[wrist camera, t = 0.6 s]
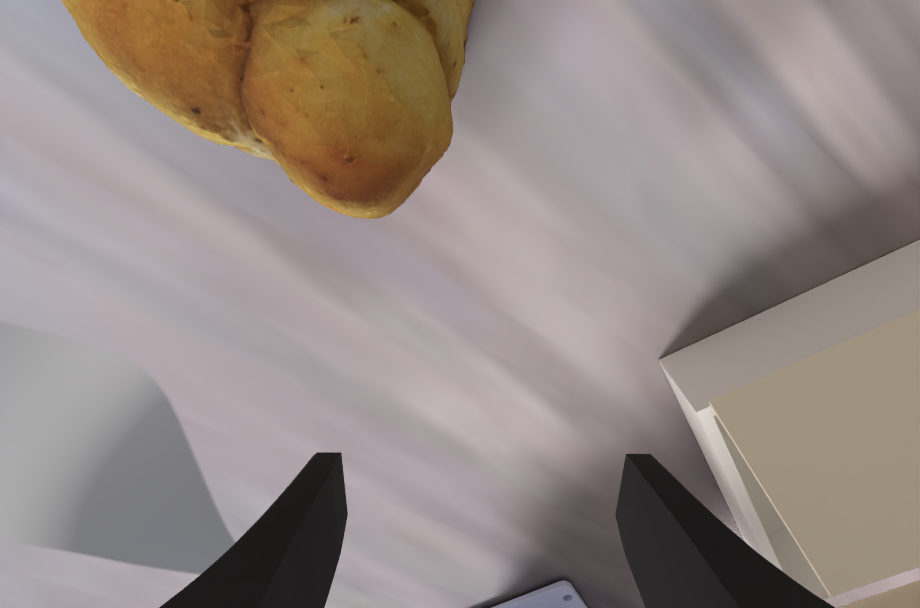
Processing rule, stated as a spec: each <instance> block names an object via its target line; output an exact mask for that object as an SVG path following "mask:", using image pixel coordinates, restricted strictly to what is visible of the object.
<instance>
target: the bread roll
mask: <svg viewBox="0 0 920 608" xmlns="http://www.w3.org/2000/svg"><path fill="white" fill-rule="evenodd" d="M61 1H62V2H63V4H64V5H65V7H66V8H67V10H68V11H69V13H70V14H71V15H72V17H73V18H74V20H75V21H76V23H77V25H78V27H79V29H80V31H81V33H82V35H83V37H84V38H85V39H86V41H87V42H88V43H89V44H90V46H91V47H92V48H93V50H94V51H95V52H96V53H97V55H98V56H99V57H100V58H101V60H102V61H103V62H104V63H105V64H106V66H107V67H108V68H109V69H110V70H111V71H112V72H113V73H114V74H115V75H116V76H117V77H118V78H119V79H120V80H121V81H122V82H123V83H124V84H125V85H126V86H127V87H128V88H129V89H130V90H131V91H133V92H134V93H136V94H137V95H139V96H140V97H142V98H143V99H145V100H146V101H148V102H149V103H150V104H152V105H153V106H155V107H156V108H157V109H159V110H160V111H162V112H163V113H164V114H166V115H167V116H169V117H170V118H172V119H173V120H175V121H176V122H178V123H179V124H181V125H182V126H184V127H185V128H187V129H188V130H190V131H192V132H193V133H195V134H197V135H198V136H201V137H203V138H205V139H208V140H210V141H212V142H215V143H218V144H222V145H229V146H234V147H236V148H238V149H239V150H241V151H244V152H246V153H249V154H251V155H254V156H256V157H261V158H266V159H271V160H274V161H276V162H277V163H278V164H279V165H280V166H281V167H282V168H283V169H284V171H285V172H286V174H287V175H288V177H289V178H290V180H291V181H292V182H293V183H294V184H296V185H297V186H298V187H300V188H301V189H302V190H303V191H304V192H306V193H307V194H308V195H309V196H310V197H312V198H313V199H314V200H315V201H317V202H319V203H320V204H322V205H324V206H326V207H328V208H330V209H332V210H334V211H336V212H339V213H341V214H344V215H348V216H351V217H355V218H367V219H371V218H380V217H383V216H386V215H389V214H391V213H392V212H393V211H394V210H396V209H397V208H398V207H399V206H400V205H401V204H403V203H404V202H405V200H406V199H407V198H408V197H409V196H410V195H411V194H412V193H413V192H414V190H415V189H416V188H417V187H418V186H419V185H420V183H421V181H422V179H423V177H424V176H425V175H426V174H427V173H428V172H429V171H430V169H431V168H432V167H433V166H434V165H435V164H436V162H437V161H438V160H439V159H440V158H441V157H442V156H443V154H444V152H445V151H447V149H448V147H449V146H450V142H451V138H452V133H453V123H452V115H451V101H452V99H453V98H454V96H455V93H456V91H457V88H458V85H459V81H460V77H461V73H462V68H463V65H464V64H465V45H466V42H467V38H468V37H467V34H466V28H467V24H468V20H469V16H470V12H471V8H472V7H473V5H474V1H473V0H61Z"/></svg>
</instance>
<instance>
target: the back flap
mask: <svg viewBox="0 0 920 608" xmlns="http://www.w3.org/2000/svg"><path fill="white" fill-rule="evenodd" d="M839 608H920V580H919V581H916V582H913V583H910V584H907V585H904V586H901V587H898V588H895V589H892V590H889V591H886V592H883V593H880V594H877V595H874V596H871V597H868V598H865V599H862V600H859V601H856V602H853V603H850V604H848V605H845V606H842V607H839Z"/></svg>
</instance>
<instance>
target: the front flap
mask: <svg viewBox="0 0 920 608" xmlns="http://www.w3.org/2000/svg"><path fill="white" fill-rule="evenodd" d="M709 404H710V406H711V408H712V409H713V411H714V412H715V414H716V416H717V417H718V419H719V420H720V422H721V424H722V425H723V427H724V428H725V430H726V432H727V433H728V435H729V436H730V438H731V440H732V441H733V443H734V444H735V446H736V448H737V449H738V451H739V452H740V454H741V456H742V457H743V459H744V460H745V462H746V464H747V465H748V467H749V468H750V470H751V472H752V473H753V475H754V476H755V478H756V480H757V481H758V483H759V484H760V486H761V488H762V489H763V491H764V492H765V494H766V496H767V497H768V499H769V500H770V502H771V504H772V505H773V507H774V508H775V510H776V512H777V513H778V515H779V516H780V518H781V520H782V521H783V523H784V524H785V526H786V528H787V529H788V531H789V532H790V534H791V536H792V537H793V539H794V540H795V542H796V543H797V545H798V547H799V548H800V550H801V551H802V553H803V555H804V556H805V558H806V559H807V561H808V563H809V564H810V566H811V567H812V569H813V571H814V572H815V574H816V575H817V577H818V579H819V580H820V582H821V583H822V585H823V587H824V588H825V590H826V591H827V593H828V595H829V596H831V597H832V596H835V595H838V594H841V593H844V592H847V591H850V590H853V589H856V588H859V587H862V586H865V585H868V584H871V583H873V582H876V581H879V580H882V579H885V578H888V577H891V576H894V575H897V574H900V573H903V572H906V571H909V570H912V569H915V568H918V567H920V309H919V310H917V311H915V312H912V313H910V314H908V315H905V316H903V317H901V318H899V319H896V320H894V321H892V322H889V323H887V324H885V325H882V326H880V327H878V328H876V329H873V330H871V331H869V332H866V333H864V334H862V335H859V336H857V337H855V338H853V339H850V340H848V341H846V342H843V343H841V344H839V345H836V346H834V347H832V348H830V349H827V350H825V351H823V352H820V353H818V354H816V355H813V356H811V357H809V358H807V359H804V360H802V361H800V362H797V363H795V364H793V365H790V366H788V367H786V368H784V369H781V370H779V371H777V372H774V373H772V374H770V375H767V376H765V377H763V378H761V379H758V380H756V381H754V382H751V383H749V384H747V385H744V386H742V387H740V388H738V389H735V390H733V391H731V392H728V393H726V394H724V395H722V396H719V397H717V398H715V399H712V400H710V401H709Z"/></svg>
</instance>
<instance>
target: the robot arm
mask: <svg viewBox="0 0 920 608" xmlns="http://www.w3.org/2000/svg"><path fill="white" fill-rule="evenodd" d="M347 515H348V513H347V504H346V494H345V485H344V475H343V465H342V456H341V453H316V454H315V455H314V456H313V457H312V458H311V459H310V461H309V462H308V463H307V464H306V465H305V467H304V468H303V469H302V470H301V472H300V473H299V474H298V475H297V476H296V478H295V479H294V480H293V481H292V482H291V484H290V485H289V486H288V487H287V488H286V489H285V491H284V492H283V493H282V494H281V495H280V496H279V497H278V499H277V500H276V501H275V502H274V503H273V504H272V505H271V506H270V508H269V509H268V510H267V511H266V512H265V513H264V514H263V515H262V516H261V517H260V519H259V520H258V521H257V522H256V523H255V524H254V525H253V526H252V527H251V528H250V529H249V530H248V531H247V532H246V533H245V534H244V535H243V536H242V537H241V538H240V539H239V540H238V541H237V542H236V543H235V544H234V545H233V546H232V547H231V548H230V549H229V550H228V551H227V552H225V554H223V555H222V556H221V557H220V558H219V559H218V560H217V561H216V562H215V563H214V564H212V565H211V566H210V567H209V568H208V569H207V570H206V571H204V572H203V573H202V574H201V575H200V576H199V577H197V578H196V579H195V580H194V581H193V582H191V583H190V584H189V585H188V586H186V587H185V588H184V589H183V590H182V591H180V592H179V593H178V594H176V595H175V596H174V597H172V598H171V599H170V600H169V601H167V602H166V603H165V604H163V605H162V606H161V607H160V608H324V607H325V604H326V601H327V597H328V594H329V591H330V587H331V584H332V581H333V577H334V574H335V571H336V567H337V564H338V560H339V557H340V553H341V548H342V543H343V538H344V532H345V526H346V520H347ZM616 519H617V523H618V527H619V532H620V536H621V540H622V543H623V547H624V551H625V555H626V557H627V560H628V563H629V566H630V568H631V571H632V573H633V576H634V579H635V581H636V584H637V587H638V589H639V592H640V594H641V597H642V599H643V602H644V605H645V607H646V608H835V607H833V606H832V605H830V604H829V603H827V602H826V601H824V600H822V599H821V598H819V597H818V596H816V595H815V594H813V593H812V592H810V591H809V590H808V589H806V588H805V587H803V586H802V585H800V584H799V583H798V582H796V581H795V580H793V579H792V578H791V577H789V576H788V575H787V574H785V573H784V572H783V571H781V570H780V569H779V568H777V567H776V566H775V565H773V564H772V563H770V562H769V561H768V560H767V559H765V558H764V557H763V556H761V555H760V554H759V553H758V552H756V551H755V550H754V549H753V548H751V547H750V546H749V545H748V544H747V543H746V542H744V541H743V540H742V539H741V538H740V537H738V536H737V535H736V534H735V533H734V532H732V531H731V530H730V529H729V528H728V527H727V526H725V525H724V524H723V523H722V522H721V521H720V520H719V519H718V518H716V517H715V516H714V515H713V514H712V513H711V512H710V511H709V510H708V509H707V508H706V507H704V506H703V505H702V504H701V503H700V502H699V501H698V500H697V499H696V498H695V497H694V496H693V495H692V494H691V493H690V492H689V491H688V490H687V489H686V488H685V487H683V486H682V485H681V484H680V483H679V482H678V481H677V480H676V479H675V478H674V477H673V476H672V475H671V474H670V473H669V472H668V471H667V470H666V469H665V468H664V467H663V466H662V465H661V464H660V463H659V462H658V461H657V460H656V459H655V458H654V457H653V456H652V455H651V454H626V458H625V463H624V469H623V475H622V481H621V487H620V492H619V498H618V504H617V510H616ZM492 608H587V606H586V605H585V603H584V602H583V601H582V599H581V598H580V596H579V595H578V593H577V592H576V591H575V589H574V588H573V586H572V585H571V584H570V583H569V582H567V581H559V582H556V583H554V584H551V585H549V586H546V587H543V588H541V589H538V590H536V591H533V592H530V593H528V594H525V595H523V596H520V597H517V598H515V599H512V600H510V601H507V602H505V603H502V604H499V605H497V606H494V607H492Z"/></svg>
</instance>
